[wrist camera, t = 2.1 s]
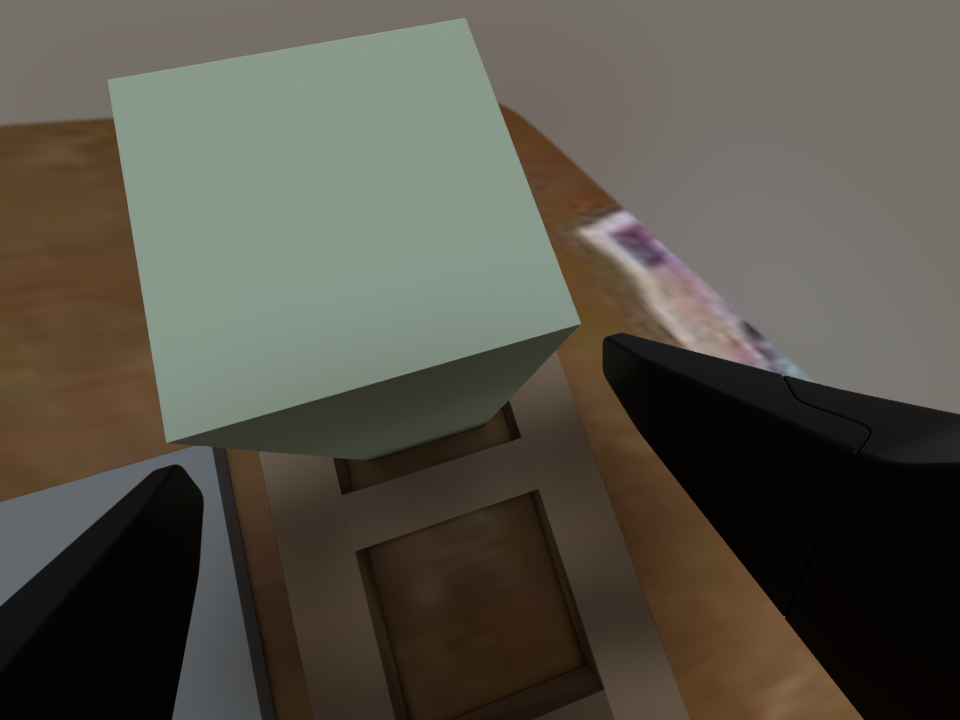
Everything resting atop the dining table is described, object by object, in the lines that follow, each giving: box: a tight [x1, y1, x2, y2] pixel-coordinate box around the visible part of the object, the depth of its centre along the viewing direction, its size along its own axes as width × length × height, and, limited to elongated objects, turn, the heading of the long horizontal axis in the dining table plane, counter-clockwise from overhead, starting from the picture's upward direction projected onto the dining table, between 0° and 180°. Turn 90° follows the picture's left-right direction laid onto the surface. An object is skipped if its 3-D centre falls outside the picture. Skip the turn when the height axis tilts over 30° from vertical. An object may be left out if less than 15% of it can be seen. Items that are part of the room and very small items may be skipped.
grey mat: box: [0, 446, 276, 720], centre depth 16 cm, size 12×12×1 cm
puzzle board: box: [258, 351, 690, 720], centre depth 17 cm, size 20×12×2 cm, turn 18°
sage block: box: [108, 18, 581, 461], centre depth 13 cm, size 5×5×14 cm
